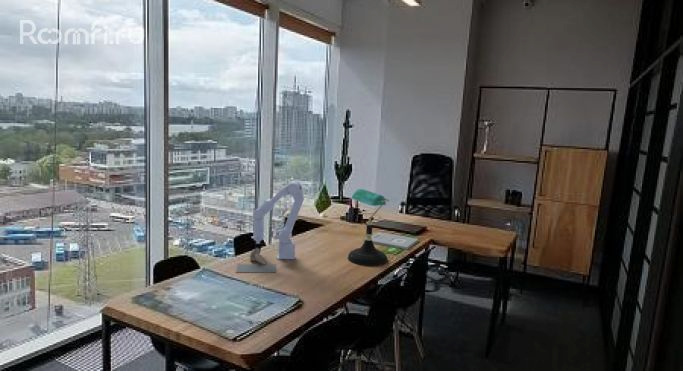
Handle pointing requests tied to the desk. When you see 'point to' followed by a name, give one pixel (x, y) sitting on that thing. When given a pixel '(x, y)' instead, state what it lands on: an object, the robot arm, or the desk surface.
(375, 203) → the banker's lamp
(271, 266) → the charcoal mat
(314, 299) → the desk surface
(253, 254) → the rough beige rock
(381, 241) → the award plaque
